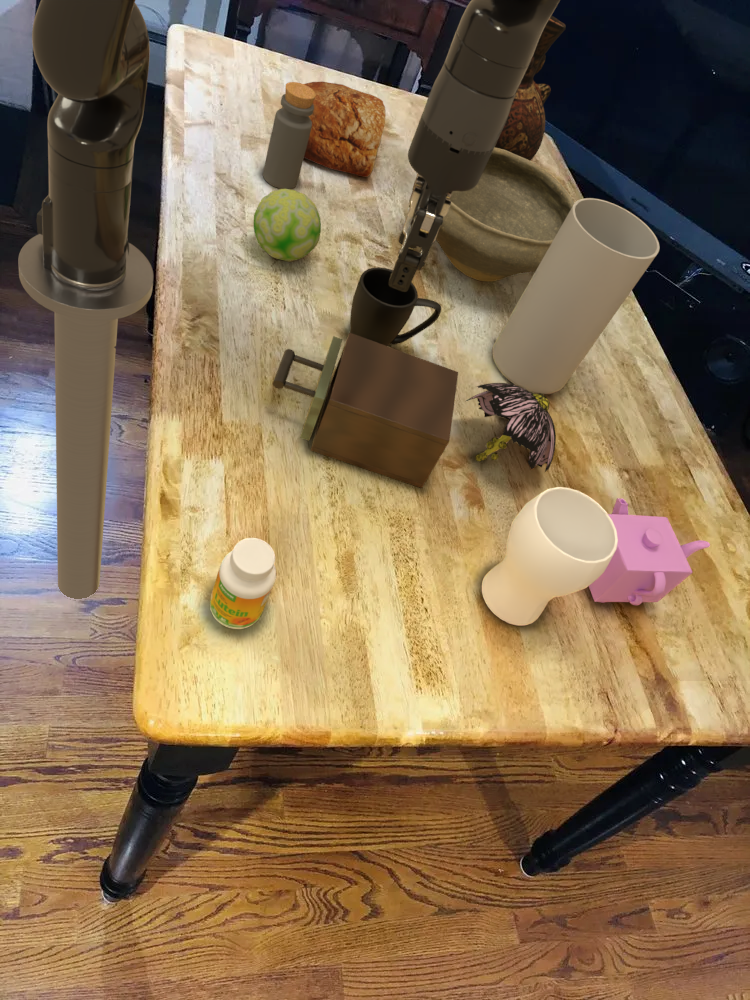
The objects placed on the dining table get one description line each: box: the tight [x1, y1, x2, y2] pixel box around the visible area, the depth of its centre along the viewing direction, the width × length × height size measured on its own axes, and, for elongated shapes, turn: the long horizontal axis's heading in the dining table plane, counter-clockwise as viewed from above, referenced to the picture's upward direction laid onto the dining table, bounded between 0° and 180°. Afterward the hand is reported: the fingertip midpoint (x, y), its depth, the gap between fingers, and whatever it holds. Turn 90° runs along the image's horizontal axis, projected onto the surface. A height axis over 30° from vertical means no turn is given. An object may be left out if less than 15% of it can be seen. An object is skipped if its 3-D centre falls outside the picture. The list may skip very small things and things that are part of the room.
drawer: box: [272, 335, 343, 442], centre depth 93 cm, size 19×11×7 cm, turn 81°
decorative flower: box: [465, 382, 557, 473], centre depth 100 cm, size 14×12×15 cm
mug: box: [349, 266, 442, 347], centre depth 105 cm, size 8×12×10 cm
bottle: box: [262, 81, 316, 190], centre depth 121 cm, size 6×6×15 cm
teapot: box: [588, 497, 711, 606], centre depth 92 cm, size 18×13×10 cm
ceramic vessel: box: [495, 15, 566, 161], centre depth 138 cm, size 21×18×30 cm
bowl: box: [435, 147, 575, 282], centre depth 125 cm, size 28×28×14 cm
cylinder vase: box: [492, 197, 660, 395], centre depth 107 cm, size 12×12×25 cm
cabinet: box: [310, 332, 459, 489], centre depth 94 cm, size 15×13×9 cm
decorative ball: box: [253, 188, 322, 262], centre depth 111 cm, size 10×10×10 cm
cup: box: [481, 486, 618, 626], centre depth 83 cm, size 11×11×15 cm
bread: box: [281, 81, 387, 178], centre depth 135 cm, size 20×18×10 cm
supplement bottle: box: [209, 537, 277, 630], centre depth 73 cm, size 5×5×10 cm
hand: (402, 265), depth 84 cm, fingers open, 8 cm apart
